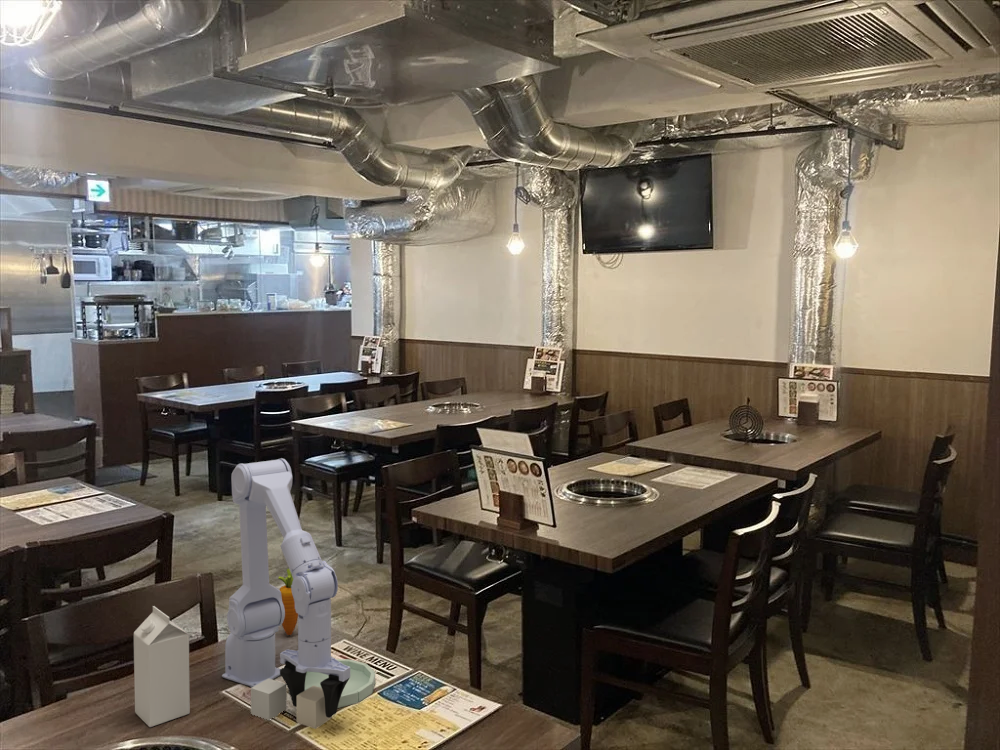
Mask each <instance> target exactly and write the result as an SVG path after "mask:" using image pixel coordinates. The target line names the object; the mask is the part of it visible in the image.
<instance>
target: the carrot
mask: <svg viewBox="0 0 1000 750" xmlns="http://www.w3.org/2000/svg"><path fill="white" fill-rule="evenodd" d="M286 573H287V576H286V577H284V576H278V578H277V579H278V580H280V581H282V582H283V584H284V585H283V586H281V587H279V588H278V589H279V590H280V591H281V597H282V602H283V605H284V609H285V617H284V620H283V623H282V624H281V625H282V628H283V630H284V632H285V633H286V635H287V636H288V635H290V636H291V635H292V634H293V633H294V631H295V629H296V627H297V624H298V613H296V609H295V601H294V598H293V595H292V590H291V585H292V582H293V577H292V574H291V572H290V569H289V568H286Z"/></svg>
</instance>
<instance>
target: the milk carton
mask: <svg viewBox="0 0 1000 750" xmlns="http://www.w3.org/2000/svg"><path fill="white" fill-rule="evenodd" d="M189 637H190V634H189V633H188V632H187V631H185V630H184V629H182V628H181V627H180V626H179V625H178V624H176V623H175V622H173V621H171V620H170V616H168V615H167V614H166V613H164V612H163V611H162V610H160V609H159V608H158V607H156V606H155V605H152V612H151V613H150V614H149V615H148V617H146V618H145V619H144V621H143V622H142V623H140V625H139V626H138V627H137V628H136V629H135V631H134V632H133V666H134V667H133V670H134V674H133V675H134V713H135V714H136V715H137V716H138V717H139V718H140V719H141V720H142V721H143V722H144V723H145V724H146V725H147V726H148V727H149V728H152V727H154V726H157V725H160V724H164V723H166V722H169V721H172V720H174V719H177V718H180V717H184V716H186V715H189V714H190V713H191V712H190V711H191V709H190V706H191V705H190V703H191V701H190V696H191V695H190V643H189V642H190V638H189Z"/></svg>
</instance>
